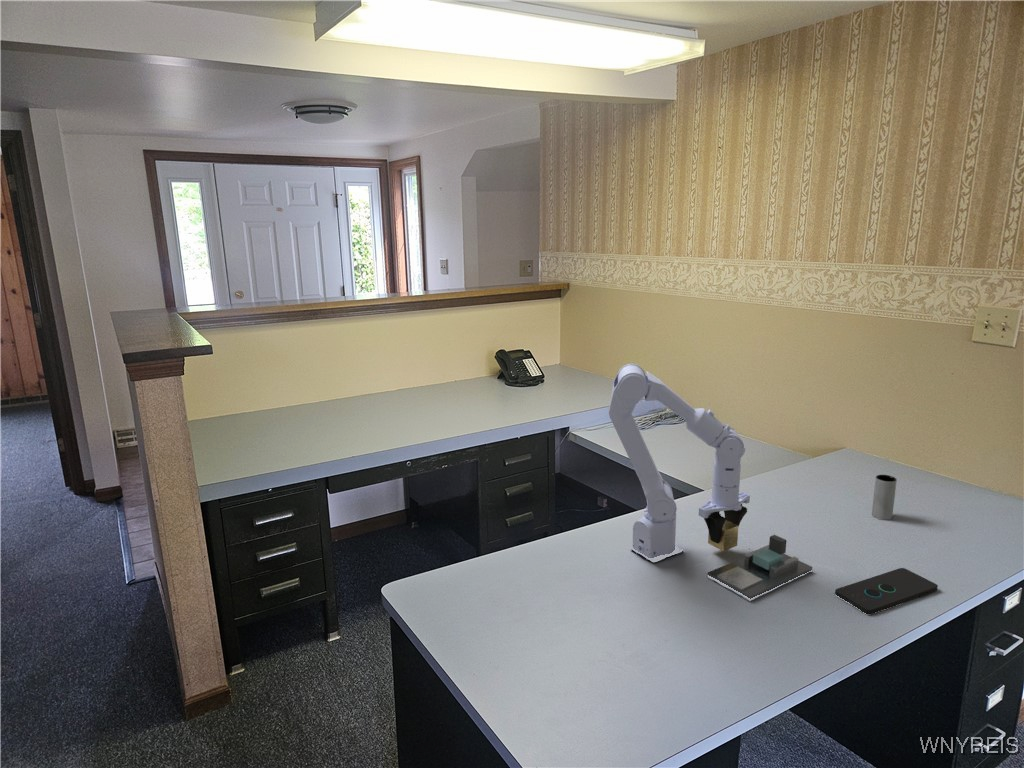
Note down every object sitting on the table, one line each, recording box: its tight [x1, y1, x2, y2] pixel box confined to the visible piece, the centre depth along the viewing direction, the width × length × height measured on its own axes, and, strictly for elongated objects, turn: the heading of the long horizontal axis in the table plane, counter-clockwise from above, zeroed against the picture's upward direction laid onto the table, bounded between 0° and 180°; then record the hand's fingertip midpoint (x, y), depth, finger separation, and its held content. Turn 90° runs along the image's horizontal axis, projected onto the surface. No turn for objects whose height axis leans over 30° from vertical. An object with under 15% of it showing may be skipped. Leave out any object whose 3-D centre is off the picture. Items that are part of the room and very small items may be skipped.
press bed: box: [707, 544, 813, 599], centre depth 139 cm, size 20×11×3 cm, turn 122°
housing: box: [707, 520, 739, 552], centre depth 148 cm, size 4×4×5 cm
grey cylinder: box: [871, 474, 897, 521], centre depth 163 cm, size 4×4×10 cm
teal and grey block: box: [753, 534, 787, 570], centre depth 140 cm, size 6×4×5 cm, turn 122°
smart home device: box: [834, 567, 939, 615], centre depth 131 cm, size 8×2×20 cm
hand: (722, 538), depth 148 cm, fingers closed on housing, 4 cm apart
